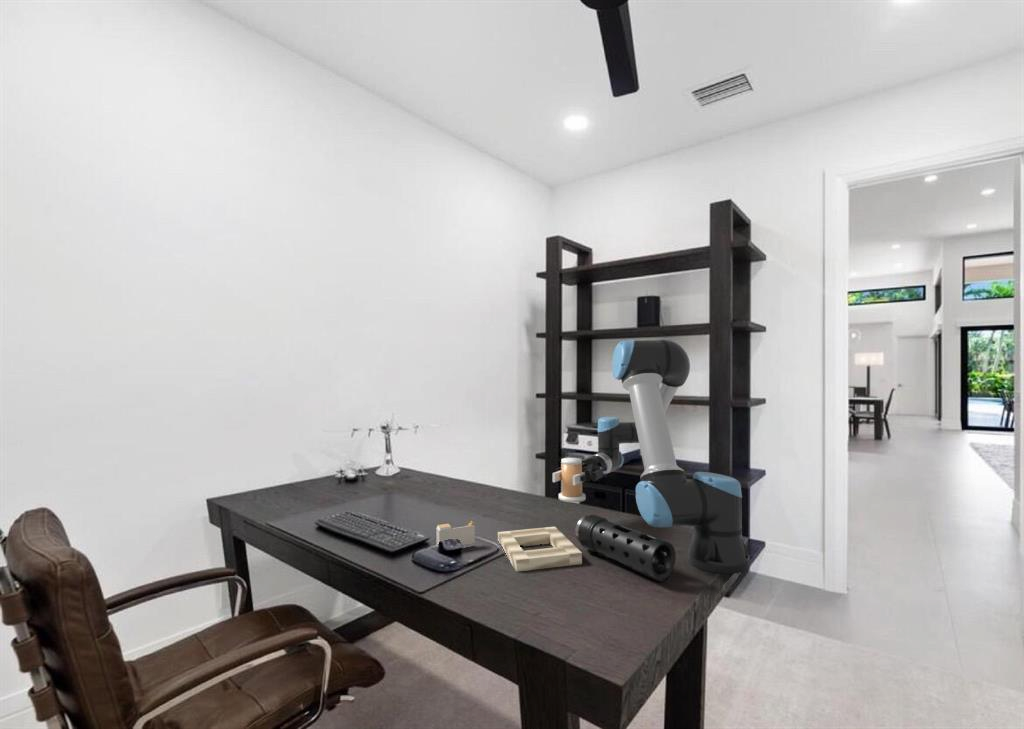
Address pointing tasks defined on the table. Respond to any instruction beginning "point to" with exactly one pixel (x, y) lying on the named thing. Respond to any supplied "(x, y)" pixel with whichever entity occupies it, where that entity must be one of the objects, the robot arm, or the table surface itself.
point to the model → (456, 533)
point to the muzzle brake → (626, 546)
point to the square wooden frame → (539, 558)
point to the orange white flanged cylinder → (571, 480)
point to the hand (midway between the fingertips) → (563, 479)
